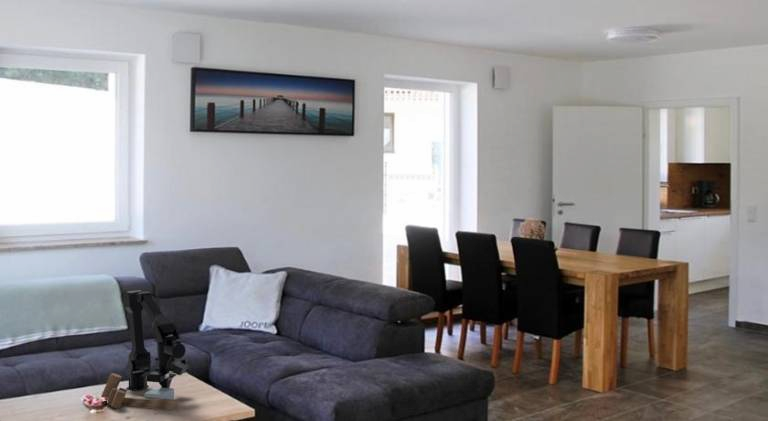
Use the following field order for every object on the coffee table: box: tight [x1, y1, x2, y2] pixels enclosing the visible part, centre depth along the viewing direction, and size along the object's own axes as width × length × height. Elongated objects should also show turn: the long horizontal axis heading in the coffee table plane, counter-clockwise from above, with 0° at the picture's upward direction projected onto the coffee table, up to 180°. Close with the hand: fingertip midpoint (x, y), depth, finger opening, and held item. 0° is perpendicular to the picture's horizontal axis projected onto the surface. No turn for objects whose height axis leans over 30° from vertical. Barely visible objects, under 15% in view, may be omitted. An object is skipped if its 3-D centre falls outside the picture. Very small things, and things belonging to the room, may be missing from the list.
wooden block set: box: [100, 372, 128, 410], centre depth 302 cm, size 18×9×10 cm, turn 18°
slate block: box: [144, 386, 175, 400], centre depth 303 cm, size 7×9×4 cm
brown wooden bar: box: [121, 394, 178, 411], centre depth 297 cm, size 22×3×3 cm, turn 73°
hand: (166, 393), depth 309 cm, fingers closed
